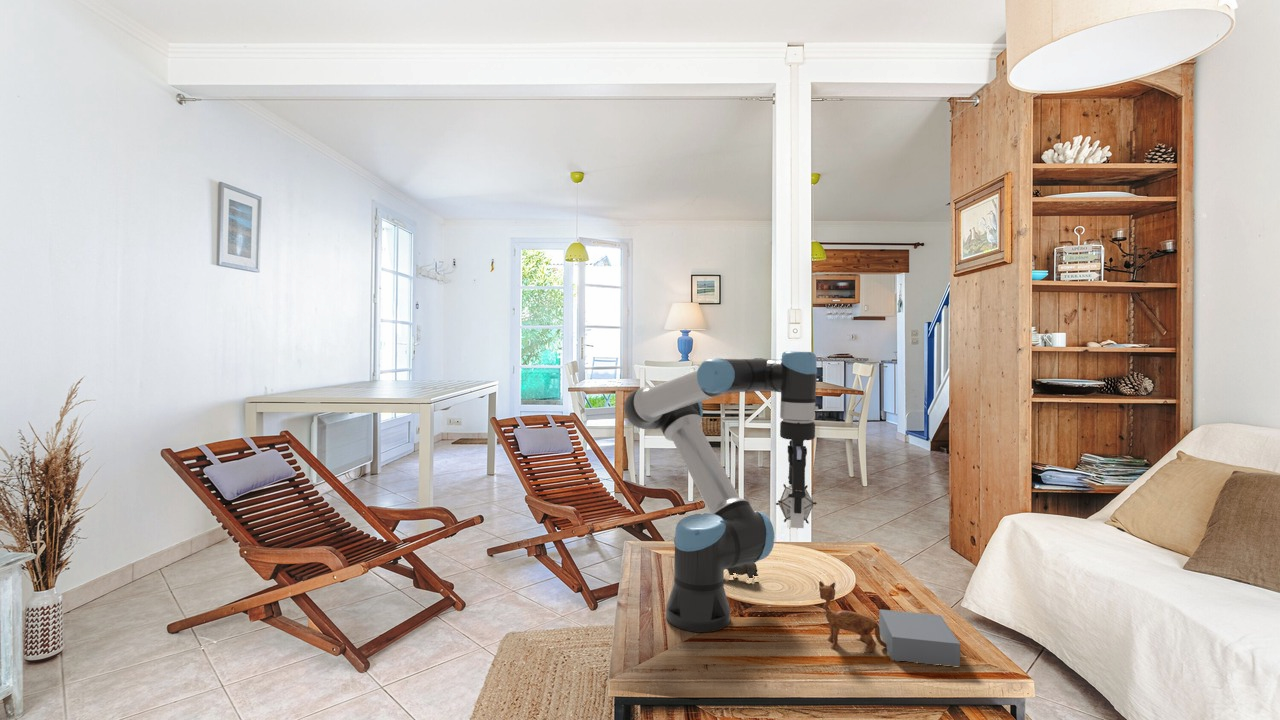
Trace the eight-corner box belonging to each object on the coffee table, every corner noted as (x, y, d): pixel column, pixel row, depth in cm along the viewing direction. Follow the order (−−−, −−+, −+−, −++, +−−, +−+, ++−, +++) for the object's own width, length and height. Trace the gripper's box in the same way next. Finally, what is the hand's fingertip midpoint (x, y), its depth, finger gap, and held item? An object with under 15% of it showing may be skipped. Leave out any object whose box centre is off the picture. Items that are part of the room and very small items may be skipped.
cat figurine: (896, 646, 132) (901, 585, 132) (906, 662, 125) (911, 597, 125) (812, 636, 134) (817, 576, 133) (818, 651, 127) (822, 588, 127)
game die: (799, 540, 132) (804, 512, 126) (766, 520, 137) (769, 491, 131) (820, 514, 137) (826, 486, 131) (788, 495, 142) (791, 467, 135)
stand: (891, 660, 124) (892, 636, 124) (878, 630, 137) (879, 609, 136) (959, 668, 121) (960, 643, 121) (939, 637, 134) (940, 615, 134)
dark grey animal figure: (711, 572, 170) (711, 551, 169) (759, 580, 164) (760, 559, 164) (707, 577, 166) (707, 556, 166) (756, 586, 161) (757, 564, 160)
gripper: (820, 428, 121) (817, 537, 122) (810, 415, 143) (808, 507, 144) (782, 426, 123) (780, 534, 124) (778, 414, 145) (776, 505, 146)
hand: (795, 520), depth 134 cm, fingers closed on game die, 10 cm apart
